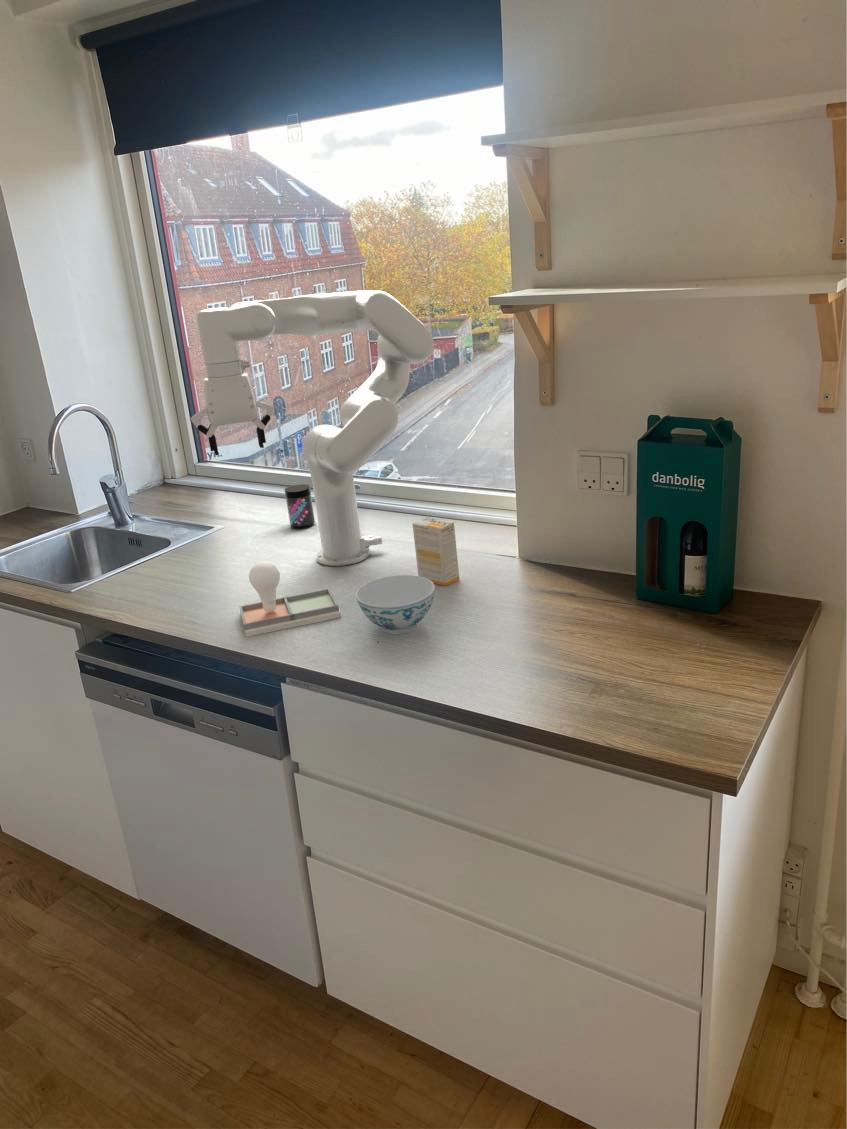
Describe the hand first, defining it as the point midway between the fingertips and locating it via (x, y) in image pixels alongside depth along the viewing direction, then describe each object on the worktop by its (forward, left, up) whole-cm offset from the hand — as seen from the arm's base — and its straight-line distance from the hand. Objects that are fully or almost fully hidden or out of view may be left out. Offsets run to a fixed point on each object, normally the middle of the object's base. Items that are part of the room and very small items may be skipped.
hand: (239, 450), depth 187 cm
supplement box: (-36, +20, -31) cm, 51 cm away
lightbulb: (+1, +22, -29) cm, 37 cm away
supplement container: (-15, -35, -31) cm, 49 cm away
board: (-3, +23, -30) cm, 38 cm away
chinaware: (-22, +39, -31) cm, 54 cm away
